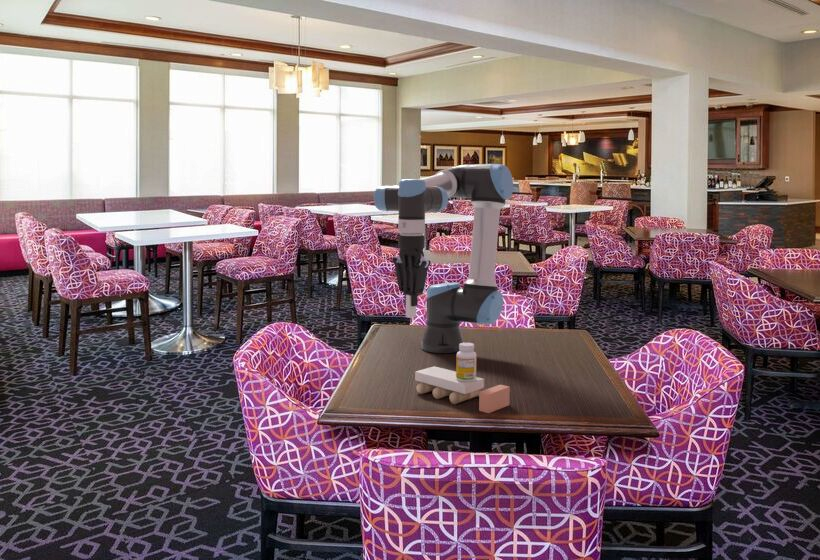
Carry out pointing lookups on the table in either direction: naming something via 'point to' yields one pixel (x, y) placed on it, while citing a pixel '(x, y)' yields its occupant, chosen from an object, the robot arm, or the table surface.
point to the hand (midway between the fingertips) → (410, 316)
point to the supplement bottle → (466, 363)
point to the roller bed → (446, 393)
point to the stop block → (494, 398)
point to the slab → (447, 380)
